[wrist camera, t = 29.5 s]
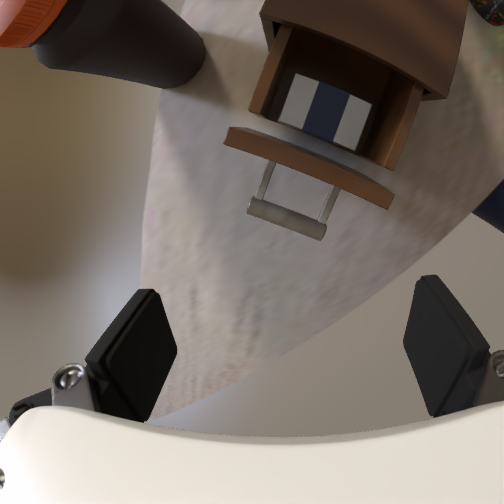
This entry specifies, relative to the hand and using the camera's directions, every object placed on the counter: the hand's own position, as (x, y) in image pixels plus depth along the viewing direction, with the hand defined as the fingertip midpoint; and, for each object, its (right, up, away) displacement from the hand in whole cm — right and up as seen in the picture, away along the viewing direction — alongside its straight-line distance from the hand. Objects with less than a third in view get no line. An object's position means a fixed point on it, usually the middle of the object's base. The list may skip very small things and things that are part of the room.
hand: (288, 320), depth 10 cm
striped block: (+4, +14, +11) cm, 18 cm away
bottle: (-9, +21, +12) cm, 26 cm away
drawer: (+5, +14, +12) cm, 19 cm away
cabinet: (+9, +24, +8) cm, 27 cm away
